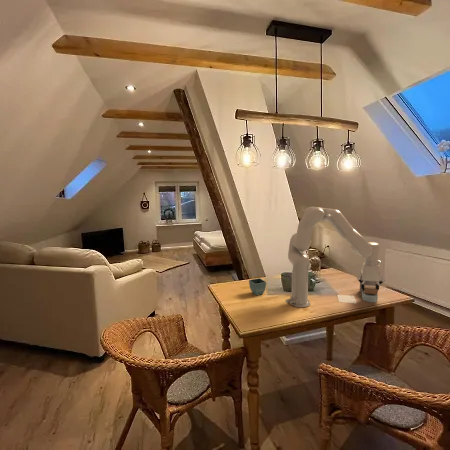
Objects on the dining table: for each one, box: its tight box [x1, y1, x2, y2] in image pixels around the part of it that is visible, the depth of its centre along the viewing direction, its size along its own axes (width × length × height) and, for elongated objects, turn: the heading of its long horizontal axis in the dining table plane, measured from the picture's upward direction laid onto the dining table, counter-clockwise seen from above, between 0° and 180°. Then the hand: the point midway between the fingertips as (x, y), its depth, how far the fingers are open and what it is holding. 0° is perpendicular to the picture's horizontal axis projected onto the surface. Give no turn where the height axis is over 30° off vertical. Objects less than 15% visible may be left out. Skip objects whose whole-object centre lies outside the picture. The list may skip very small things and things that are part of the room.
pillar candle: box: [359, 271, 377, 294], centre depth 185 cm, size 10×10×15 cm
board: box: [364, 285, 379, 295], centre depth 174 cm, size 7×7×3 cm
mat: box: [337, 294, 357, 304], centre depth 177 cm, size 12×10×1 cm
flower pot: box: [248, 277, 267, 296], centre depth 188 cm, size 9×9×9 cm
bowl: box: [361, 291, 379, 303], centre depth 174 cm, size 8×8×4 cm
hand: (369, 290), depth 174 cm, fingers closed on board, 7 cm apart
